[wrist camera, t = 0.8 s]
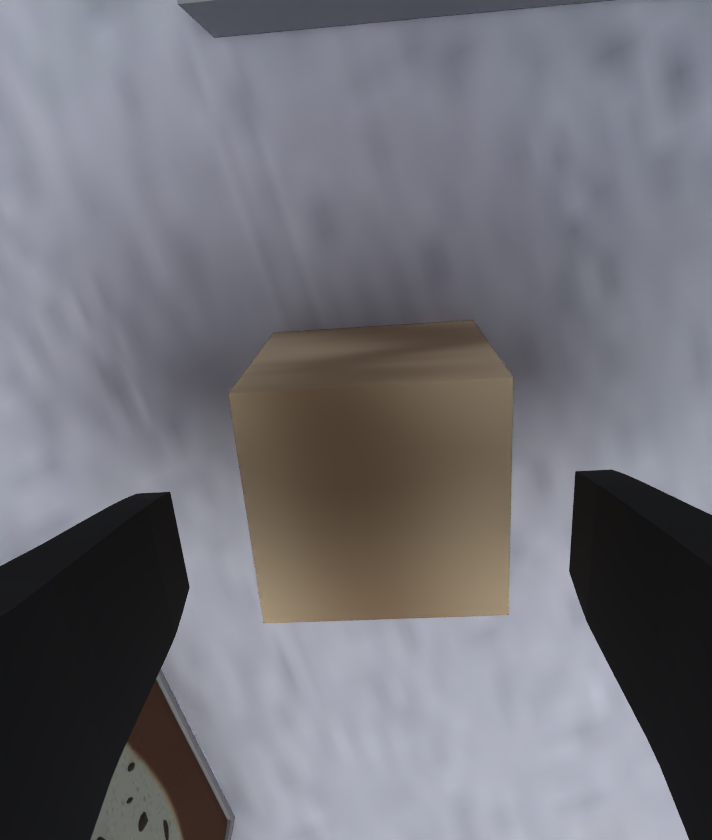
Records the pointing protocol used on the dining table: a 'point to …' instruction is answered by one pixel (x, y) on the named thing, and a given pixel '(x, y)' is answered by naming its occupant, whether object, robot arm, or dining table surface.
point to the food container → (163, 781)
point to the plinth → (333, 12)
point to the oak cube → (377, 472)
